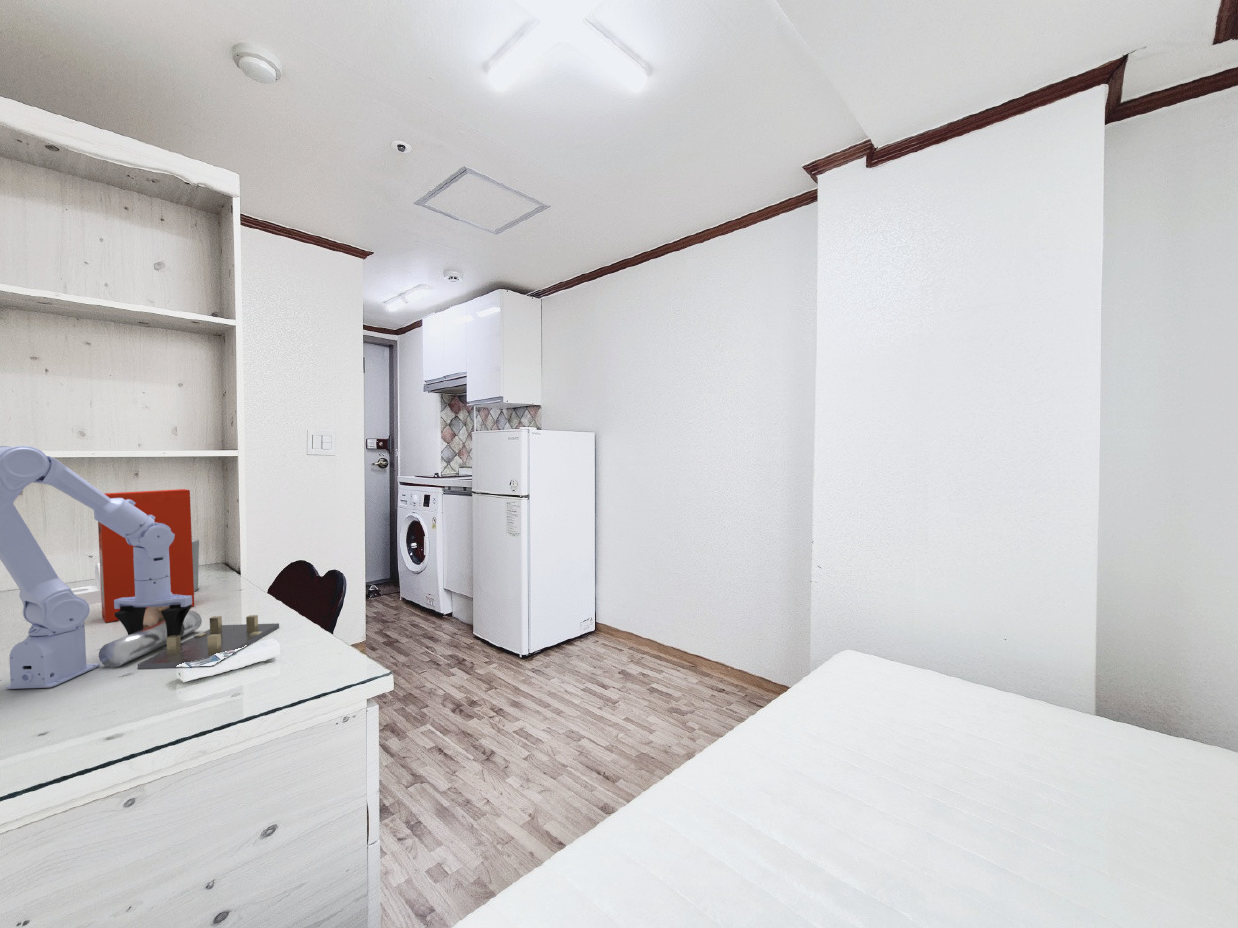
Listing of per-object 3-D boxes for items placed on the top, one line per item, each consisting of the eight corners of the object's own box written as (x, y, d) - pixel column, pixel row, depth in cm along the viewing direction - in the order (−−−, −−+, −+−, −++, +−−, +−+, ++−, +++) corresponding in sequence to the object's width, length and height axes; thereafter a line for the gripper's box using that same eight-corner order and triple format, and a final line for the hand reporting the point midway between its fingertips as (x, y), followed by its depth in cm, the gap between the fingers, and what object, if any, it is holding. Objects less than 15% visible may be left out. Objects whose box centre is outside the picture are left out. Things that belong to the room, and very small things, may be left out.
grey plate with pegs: (212, 666, 102) (211, 643, 101) (137, 668, 101) (136, 646, 101) (279, 627, 124) (278, 608, 123) (218, 629, 123) (217, 610, 123)
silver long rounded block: (126, 667, 102) (125, 639, 101) (99, 668, 101) (98, 640, 101) (202, 631, 122) (201, 608, 121) (179, 631, 121) (179, 608, 121)
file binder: (102, 616, 133) (96, 493, 132) (187, 601, 146) (183, 488, 145) (105, 623, 128) (100, 495, 127) (194, 606, 141) (190, 490, 140)
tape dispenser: (151, 594, 154) (150, 558, 154) (63, 609, 140) (61, 570, 140) (145, 588, 160) (143, 554, 160) (60, 602, 147) (58, 565, 146)
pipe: (126, 620, 116) (183, 604, 122) (131, 603, 128) (183, 589, 135) (133, 647, 116) (190, 629, 123) (138, 627, 129) (189, 612, 135)
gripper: (201, 572, 115) (204, 631, 116) (133, 573, 114) (136, 634, 115) (176, 580, 108) (179, 643, 109) (103, 582, 107) (106, 646, 108)
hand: (155, 639), depth 111 cm, fingers open, 7 cm apart
